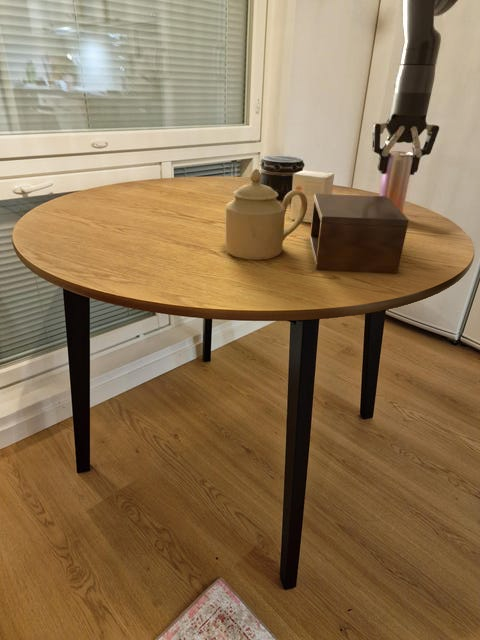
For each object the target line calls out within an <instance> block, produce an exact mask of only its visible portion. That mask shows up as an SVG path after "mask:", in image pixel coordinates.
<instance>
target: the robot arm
mask: <svg viewBox="0 0 480 640" xmlns="http://www.w3.org/2000/svg"><path fill="white" fill-rule="evenodd" d="M458 2H459V0H402V32H403V45H402V50H401V55H400V60H399V66H398V70H397V74H396V77H395V82H394V85H393V94H392V99H391V105H390V111H389V116H388V119H387V121H386V122H382V123H381V122H380V123H378V122H374V123H373V124H372V140H371V141H372V142H371V150H372V152H374V153H375V154H378V156H379V157H378V162H377V170H378V171H379V174H382V175H383V174H384V173H385V168H386V163H387V154H388V152H390V151H391V150H392V149H393V148H394V147H395V145H396V144H401V143H406V144H410V147H411V150H412V153H413V164H412V169H411V174H410V176H414V175H415V173H417V172H418V170H419V166H420V161H421V158H422V157H424V156H429V155H430V154H431V153H432V150H433V147H434V145H435V142H436V139H437V137H438V133H439V131H440V125H438V124H429V123H427V115H428V111H429V106H430V102H431V96H432V92H433V88H434V83H435V77H436V67H437V62H438V57H439V52H440V48H441V44H442V43H441V42H442V35H441V33H440V31H438V30H436V27H435V17H440V16H442V15H444V14H445V13H447V12H449V10H451V9H452V8H453V7H454V6H455V4H457V3H458ZM385 129H386V131H387V133H388V137H387V138H386V140H385V142H384V143H383V146H382V147H381V135H382V134H383V133H384V132H385V131H384V130H385ZM424 131H425V134H426V138H425V141H424V143H423V146H422V148H421V141H420V138H419V137H420V135H422V133H423V132H424Z"/></svg>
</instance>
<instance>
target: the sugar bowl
mask: <svg viewBox="0 0 480 640" xmlns="http://www.w3.org/2000/svg"><path fill="white" fill-rule="evenodd" d="M250 180H251V183H248V184H245V185H242V186H240V187H239V188H237V189H235V190H234V191H233V192H232V195H233V196H234V198H233V199H232V201H230V202H228V203H226V204H225V211H224V212H225V214H224V215H225V218H224V227H225V228H224V230H225V231H224V233H225V234H224V236H225V251H226V252H227V254H229V255H230V256H233V257H234V258H238V259H243V260H253V261H254V260H255V261H260V260H269V259H272V258H276V257H278V256H279V255H280V254H281V253H282V251H283V243H284V241H285V239H286V238H287V237H288V236H290V235H291V234H292V233H293V232H294V231H295V230H297V229H298V227H299V226H300V225H301V224H302V223H303V219H304V217H305V214H306V211H307V198H306V196H305V194H304V193H303V192H301V191H299V190H292V191H290V192H289V193H287V194H286V196H285V197H284V199H282V202H281V203H280V202H279V201H278V199H276V197H277V196H278V193H277V192H275V191H274V190H273V189H272V188H271V187H269V186H265V185H262V184H260V180H261V172H260V169H257V168H255V169H253V170H252V172H251V174H250ZM295 195H299V197H300V199H301V209H300V212H299V214H298V216H297V218H296V220H293V221H292V223H291V224H289V226H288V227H287V228H285V219H286V217H285V216H286V213H287V209H288V206H289V203H290V201H291V200H292V199H291V198H292V197H293V196H295Z"/></svg>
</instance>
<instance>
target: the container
mask: <svg viewBox="0 0 480 640" xmlns="http://www.w3.org/2000/svg"><path fill="white" fill-rule="evenodd" d="M258 164H259V166H260V168H259V172H260V174H261V180H260V184H262V185H265V186H269V187H271V188H272V189H273V190H274V191H275V192H277V193H278V196H277V197H276V199H277V200H284V197H285V196H286V194H287V193H289V192H290V191H292V185H293V174H295V173H297V172H300V171H303V170H304V168H305V163H304V160H303V158H300V157H297V156H289V155H266V156H262V157H261V159H260V160H259V162H258ZM290 200H292V198H291V199H290Z"/></svg>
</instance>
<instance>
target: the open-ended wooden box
mask: <svg viewBox="0 0 480 640" xmlns="http://www.w3.org/2000/svg"><path fill="white" fill-rule="evenodd" d="M409 222H410V219H409V218H408V217H407V216H406V215H405V214H404V213H403V212H401V211H400V210H399V209H398V208H397V207H396V206H395V205H394V204H393V203H392V202H391V201H390V199H389V198H388V197H387V196H379V195H358V194H357V195H354V194H332V195H331V194H314V203H313V213H312V223H311V224H310V233H309V242H310V247H311V252H312V257H313V262H314V267H315V270H318V271H337V272H339V271H340V272H359V273H361V272H362V273H381V274H383V273H384V274H385V273H386V274H398V272H399V268H400V262H401V258H402V253H403V249H404V244H405V239H406V235H407V231H408V227H409Z"/></svg>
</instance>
